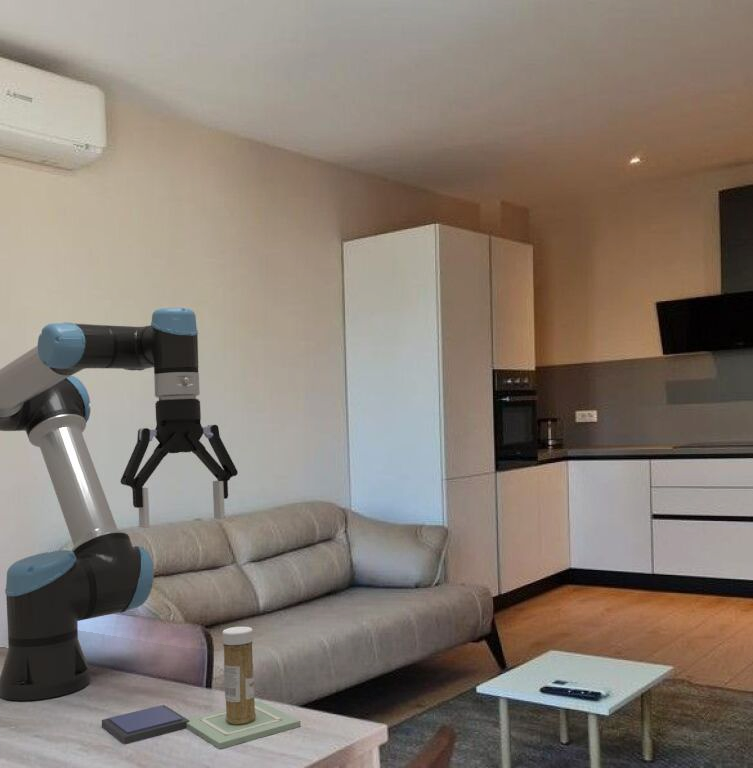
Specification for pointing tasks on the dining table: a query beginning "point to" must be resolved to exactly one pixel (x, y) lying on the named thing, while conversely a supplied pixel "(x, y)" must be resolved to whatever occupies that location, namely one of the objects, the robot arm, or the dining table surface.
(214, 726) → the board
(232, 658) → the sprinkles bottle
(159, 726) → the ink pad
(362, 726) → the dining table surface
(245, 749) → the dining table surface
